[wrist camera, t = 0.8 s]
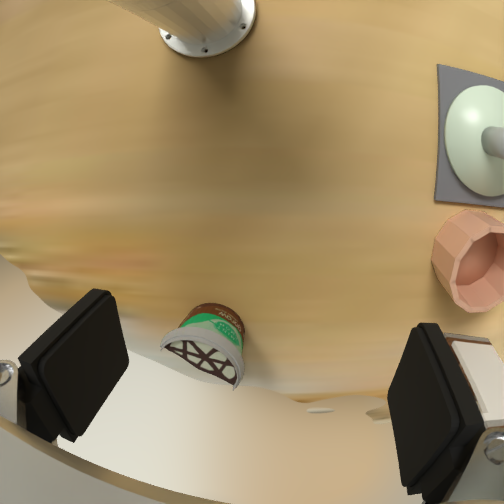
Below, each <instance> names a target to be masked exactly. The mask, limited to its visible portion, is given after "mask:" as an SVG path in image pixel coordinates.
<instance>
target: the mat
mask: <svg viewBox="0 0 504 504" xmlns="http://www.w3.org/2000/svg"><path fill="white" fill-rule="evenodd" d="M437 76H438V105H439V125H438V155H437V171H436V183H435V194H434V200H437V201H448V202H458V203H468V204H478V205H486V206H495V207H503V208H504V194H502V195H499V196H484V195H481V194H478V193H476V192H474V191H472V190H471V189H469V188H468V187H466V186H465V185H464V184H463V183H462V182H461V181H460V180H459V179H458V177H457V176H456V175H455V173H454V171H453V170H452V168H451V165H450V163H449V161H448V158H447V155H446V151H445V145H444V123H445V117H446V114H447V111H448V109H449V106H450V104H451V103H452V101H453V100H454V98H455V97H456V96H457V95H458V94H459V93H460V92H462V91H463V90H465V89H467V88H469V87H473V86H479V85H487V86H491V87H494V88H497V89H499V90H500V91H502V92H504V82H503V81H500V80H497V79H494V78H490V77H487V76H484V75H480V74H477V73H473V72H470V71H466V70H462V69H458V68H454V67H450V66H446V65H441V64H437Z"/></svg>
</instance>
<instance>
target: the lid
mask: <svg viewBox="0 0 504 504" xmlns="http://www.w3.org/2000/svg"><path fill="white" fill-rule="evenodd" d="M444 145H445V151H446V155H447V158H448V161H449V163H450V165H451V168H452V170H453V171H454V173H455V175H456V176H457V177H458V179H459V180H460V181H461V182H462V183H463V184H464V185H465V186H466V187H468V188H469V189H471V190H472V191H474V192H476V193H478V194H481V195H484V196H499V195H502V194H504V92H502V91H500V90H499V89H497V88H494V87H491V86H487V85H479V86H473V87H469V88H467V89H465V90H463V91H462V92H460V93H459V94H458V95H457V96H456V97H455V98H454V100H453V101H452V103H451V104H450V106H449V109H448V111H447V114H446V117H445V123H444Z"/></svg>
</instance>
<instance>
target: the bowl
mask: <svg viewBox="0 0 504 504" xmlns="http://www.w3.org/2000/svg"><path fill="white" fill-rule="evenodd" d="M431 261H432V264H433V267H434V270H435V273H436V276H437V279H438V280H439V281H440V283H441V284H442V285H443V287H444V288H445V290H446V291H447V292H448V294H449V295H450V297H451V298H452V300H453V301H454V302H455V303H456V304H457V305H459V306H460V307H461V308H463V309H464V310H465V311H467V312H468V313H472V312H486V311H488V310H490V309H491V308H493V307H495V306H496V305H498V304H500V303H501V302H503V301H504V224H503V223H501V222H500V221H498V220H496V219H495V218H493V217H492V216H490V215H488V214H487V213H485V212H484V211H476V210H466V209H465V210H464V211H462V212H460V213H458V214H457V215H455V216H453V217H451V218H449V219H448V220H447V221H446V223H445V224H444V226H443V227H442V229H441V230H440V232H439V233H438V235H437V236H436V237H435V241H434V247H433V252H432V258H431Z"/></svg>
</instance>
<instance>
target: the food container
mask: <svg viewBox="0 0 504 504" xmlns="http://www.w3.org/2000/svg"><path fill="white" fill-rule="evenodd" d="M244 332H245V331H244V326H243V322H242V321H241V319H240V317H239V316H238V315H237V314H236V313H235V312H234V311H233V310H231V309H230V308H228V307H226V306H224V305H221V304H216V303H206V304H202V305H199V306H197V307H195V308H194V309H193V310H192V311H191V312H190V313H189V315H188V316H187V317H186V318H185V319H184V321H183V322H182V323H181V324H180V326H179V327H178V328H177V329H175V330H172V331H171V332H169V333H168V334H166V335H165V336H164V338H163V339H162V342H161V345H160V347H161V350H162V349H163V348H166V349H168V350H169V351H171V352H173V353H175V354H177V355H179V356H180V357H182V358H183V359H185V360H186V361H187V362H189V363H190V364H192V365H193V366H195V367H196V368H198V369H200V370H202V371H204V372H207V373H209V374H212V375H214V376H217V377H219V378H221V379H223V380H225V381H227V382H228V383H230V384H232V385H233V390H234V389H235V388H236V387H237V386H238V385H239V383H240V381H241V379H242V377H243V375H244V370H245V367H244V361H243V358H242V348H243V340H244ZM161 350H160V351H161Z"/></svg>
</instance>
